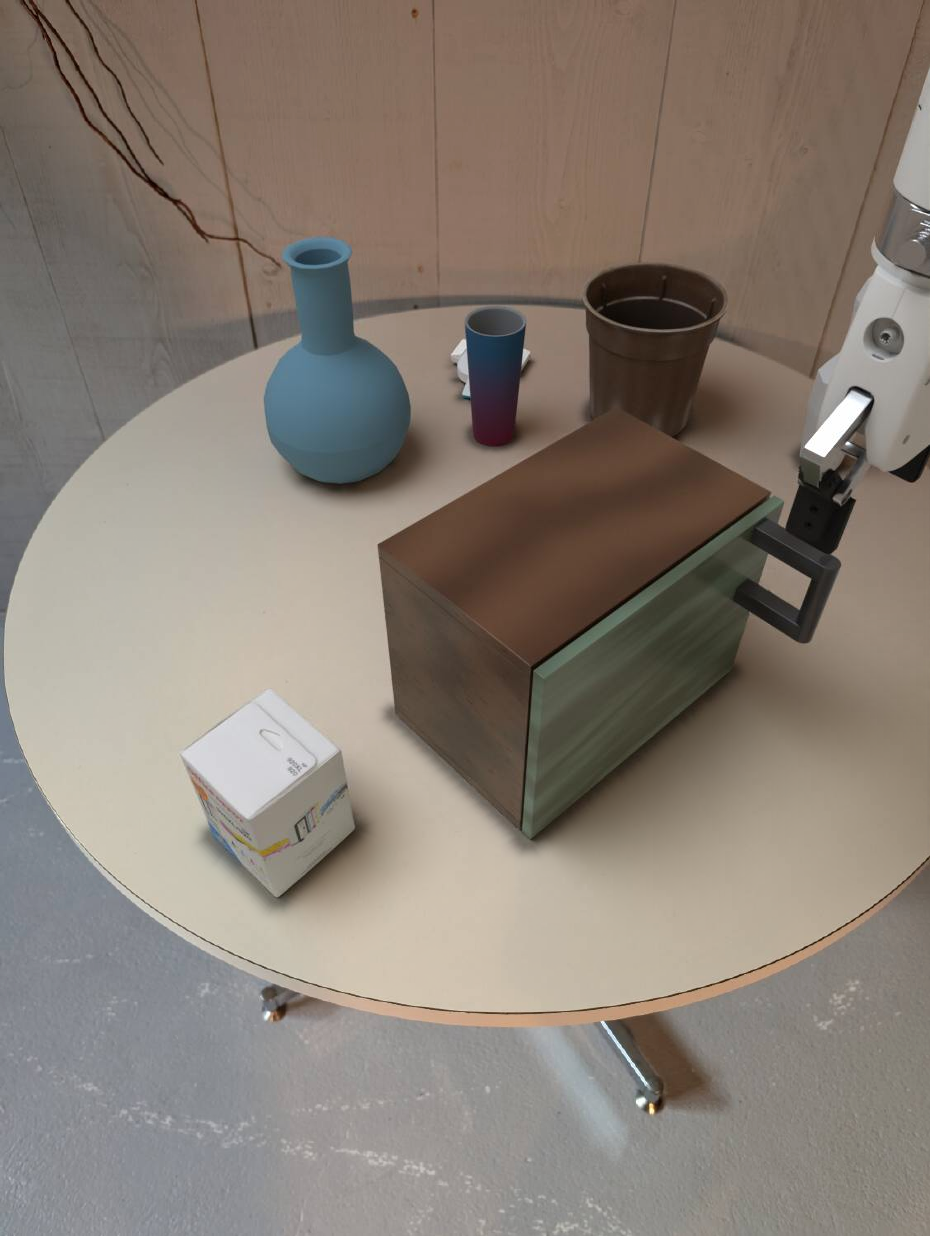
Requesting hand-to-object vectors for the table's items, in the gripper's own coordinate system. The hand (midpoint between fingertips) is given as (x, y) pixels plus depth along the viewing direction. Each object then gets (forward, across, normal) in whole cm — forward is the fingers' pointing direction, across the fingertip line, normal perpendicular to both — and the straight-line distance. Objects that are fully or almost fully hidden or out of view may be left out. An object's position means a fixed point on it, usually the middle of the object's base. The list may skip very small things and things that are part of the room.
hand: (853, 505), depth 56 cm
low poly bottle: (+29, +42, +20) cm, 55 cm away
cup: (+29, +18, +50) cm, 60 cm away
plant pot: (+29, +33, +40) cm, 60 cm away
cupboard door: (+28, -6, +5) cm, 29 cm away
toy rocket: (+29, +28, +61) cm, 73 cm away
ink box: (+29, -33, +22) cm, 49 cm away
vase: (+29, +2, +58) cm, 65 cm away
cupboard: (+29, -5, +17) cm, 34 cm away
